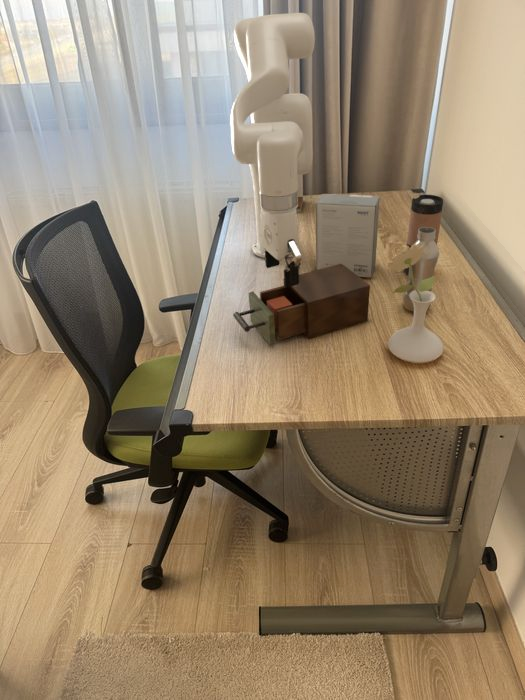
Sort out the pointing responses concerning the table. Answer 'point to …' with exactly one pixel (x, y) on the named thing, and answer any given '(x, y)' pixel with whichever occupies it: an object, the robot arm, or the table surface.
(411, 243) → the travel mug
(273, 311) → the block
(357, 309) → the cabinet
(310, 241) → the table surface
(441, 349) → the flower in vase
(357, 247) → the hard drive box
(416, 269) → the metal bottle
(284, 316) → the drawer
